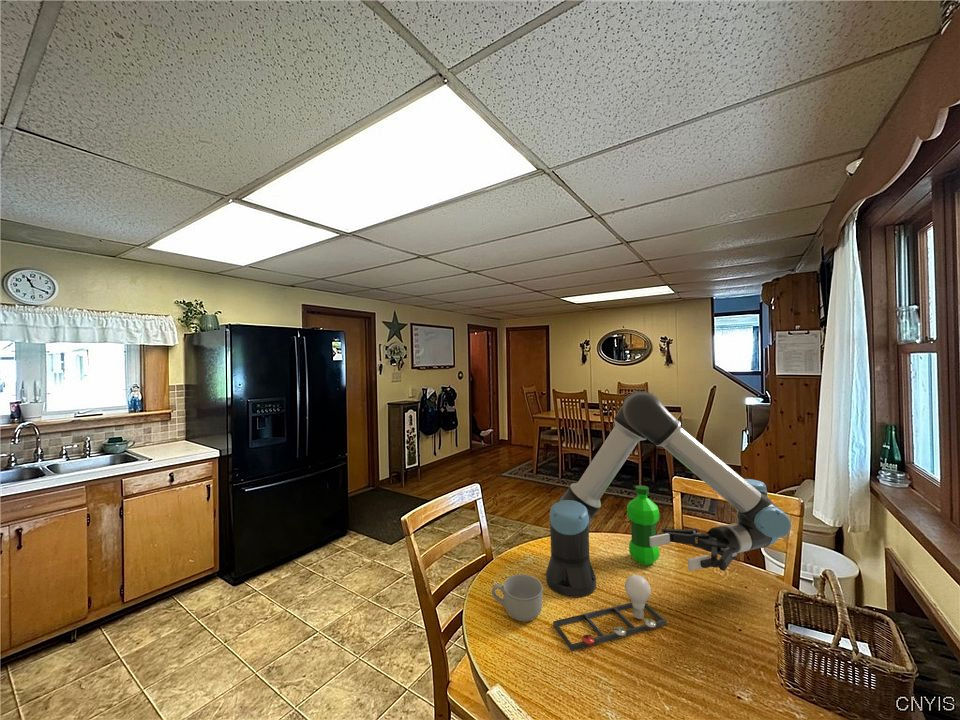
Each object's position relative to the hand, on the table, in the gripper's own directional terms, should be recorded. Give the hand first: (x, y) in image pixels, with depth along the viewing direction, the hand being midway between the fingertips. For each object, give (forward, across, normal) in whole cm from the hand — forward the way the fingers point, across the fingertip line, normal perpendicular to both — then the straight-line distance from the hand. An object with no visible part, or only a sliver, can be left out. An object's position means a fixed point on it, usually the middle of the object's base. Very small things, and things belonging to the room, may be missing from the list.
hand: (668, 552), depth 103 cm
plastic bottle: (-11, +24, -16) cm, 31 cm away
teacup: (+40, +13, -15) cm, 44 cm away
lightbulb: (+10, 0, -16) cm, 19 cm away
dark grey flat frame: (+19, 0, -15) cm, 25 cm away
